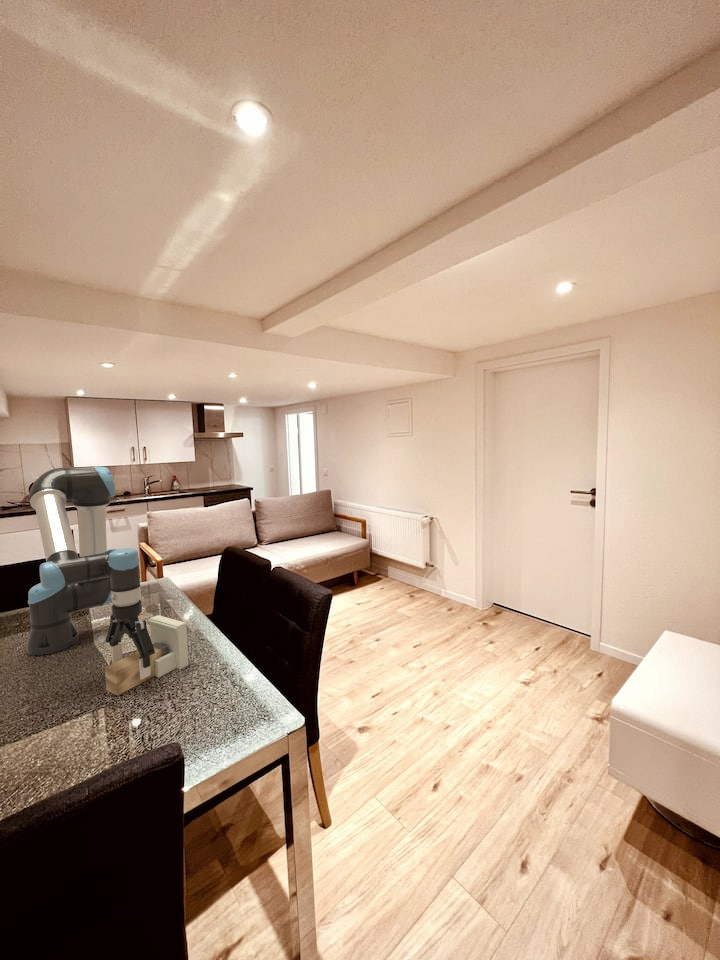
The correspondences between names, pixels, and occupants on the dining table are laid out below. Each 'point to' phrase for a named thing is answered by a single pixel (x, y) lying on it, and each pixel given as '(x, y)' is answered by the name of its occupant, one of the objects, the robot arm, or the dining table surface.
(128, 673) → the tan and grey block
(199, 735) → the dining table surface
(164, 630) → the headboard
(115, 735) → the dining table surface
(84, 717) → the dining table surface
